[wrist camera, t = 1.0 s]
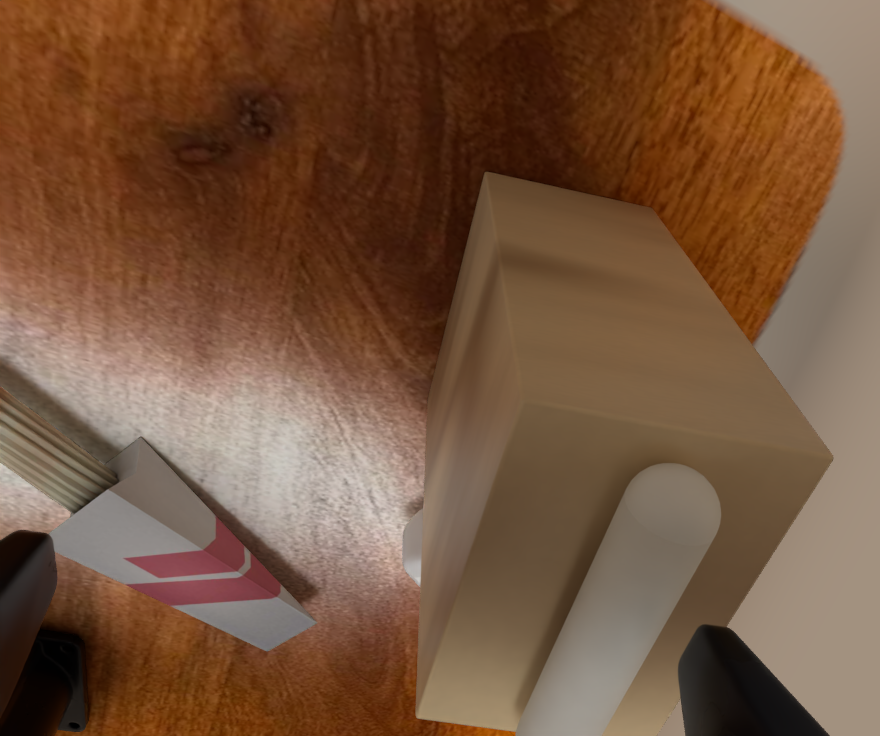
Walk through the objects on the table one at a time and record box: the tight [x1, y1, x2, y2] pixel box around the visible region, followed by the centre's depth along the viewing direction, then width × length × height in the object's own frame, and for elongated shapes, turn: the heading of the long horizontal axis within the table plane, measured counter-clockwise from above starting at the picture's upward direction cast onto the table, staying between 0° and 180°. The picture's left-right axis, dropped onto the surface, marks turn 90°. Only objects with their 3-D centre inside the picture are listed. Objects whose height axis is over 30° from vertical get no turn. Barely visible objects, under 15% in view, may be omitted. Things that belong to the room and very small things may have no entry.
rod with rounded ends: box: [516, 463, 721, 736], centre depth 12 cm, size 7×1×1 cm, turn 168°
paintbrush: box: [0, 386, 317, 651], centre depth 25 cm, size 4×3×20 cm
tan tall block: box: [416, 172, 833, 736], centre depth 18 cm, size 8×5×12 cm, turn 168°
